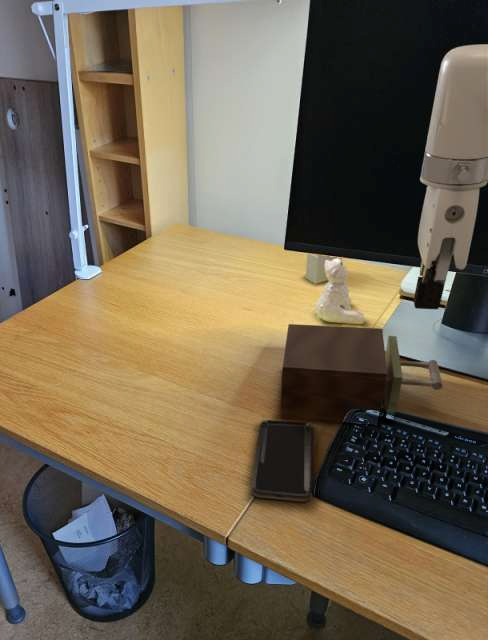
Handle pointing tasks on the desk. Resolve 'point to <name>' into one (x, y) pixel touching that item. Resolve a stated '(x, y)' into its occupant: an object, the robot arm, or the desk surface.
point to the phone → (284, 461)
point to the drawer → (396, 377)
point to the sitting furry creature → (337, 296)
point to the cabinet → (332, 372)
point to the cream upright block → (317, 267)
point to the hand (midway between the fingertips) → (425, 305)
